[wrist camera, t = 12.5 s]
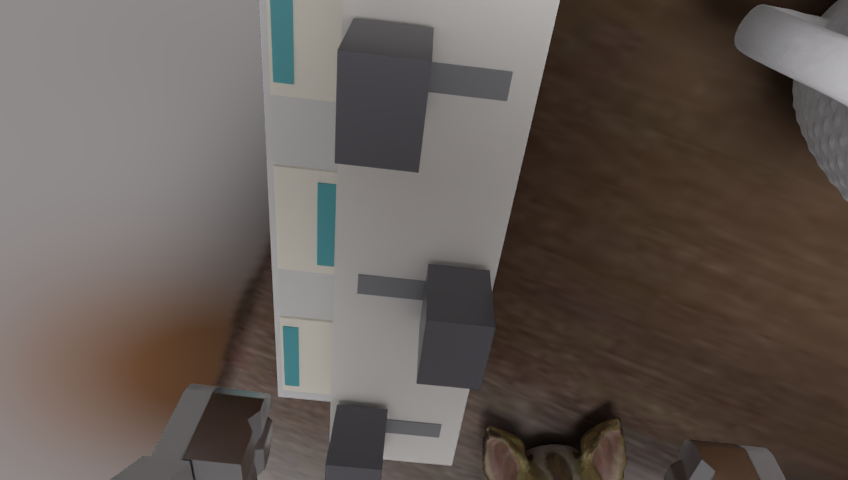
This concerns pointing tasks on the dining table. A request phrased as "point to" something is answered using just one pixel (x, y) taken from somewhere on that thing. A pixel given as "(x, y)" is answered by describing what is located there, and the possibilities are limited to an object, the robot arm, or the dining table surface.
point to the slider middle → (455, 327)
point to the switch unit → (390, 201)
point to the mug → (808, 74)
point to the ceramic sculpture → (557, 456)
